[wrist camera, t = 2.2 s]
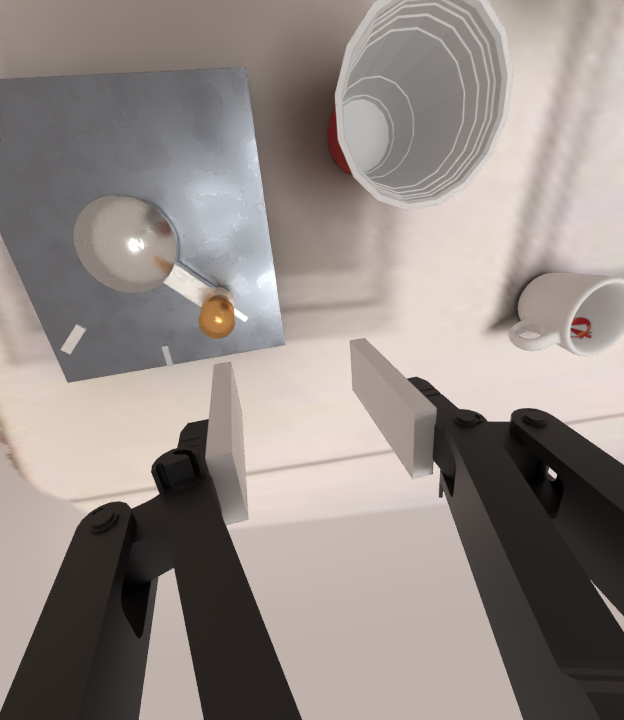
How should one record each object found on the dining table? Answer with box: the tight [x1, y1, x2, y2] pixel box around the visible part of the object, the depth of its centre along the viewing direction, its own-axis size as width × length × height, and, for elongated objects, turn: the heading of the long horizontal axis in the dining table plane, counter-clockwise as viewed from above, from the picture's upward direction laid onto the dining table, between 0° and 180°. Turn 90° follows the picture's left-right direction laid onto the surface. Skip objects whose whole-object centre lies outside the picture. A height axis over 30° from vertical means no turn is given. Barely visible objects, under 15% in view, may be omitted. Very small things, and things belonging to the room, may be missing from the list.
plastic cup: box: [327, 0, 513, 210], centre depth 25 cm, size 11×11×12 cm
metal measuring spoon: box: [74, 195, 235, 339], centre depth 26 cm, size 13×7×6 cm, turn 51°
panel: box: [0, 67, 285, 383], centre depth 29 cm, size 22×20×2 cm
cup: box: [508, 272, 624, 356], centre depth 37 cm, size 11×8×8 cm
